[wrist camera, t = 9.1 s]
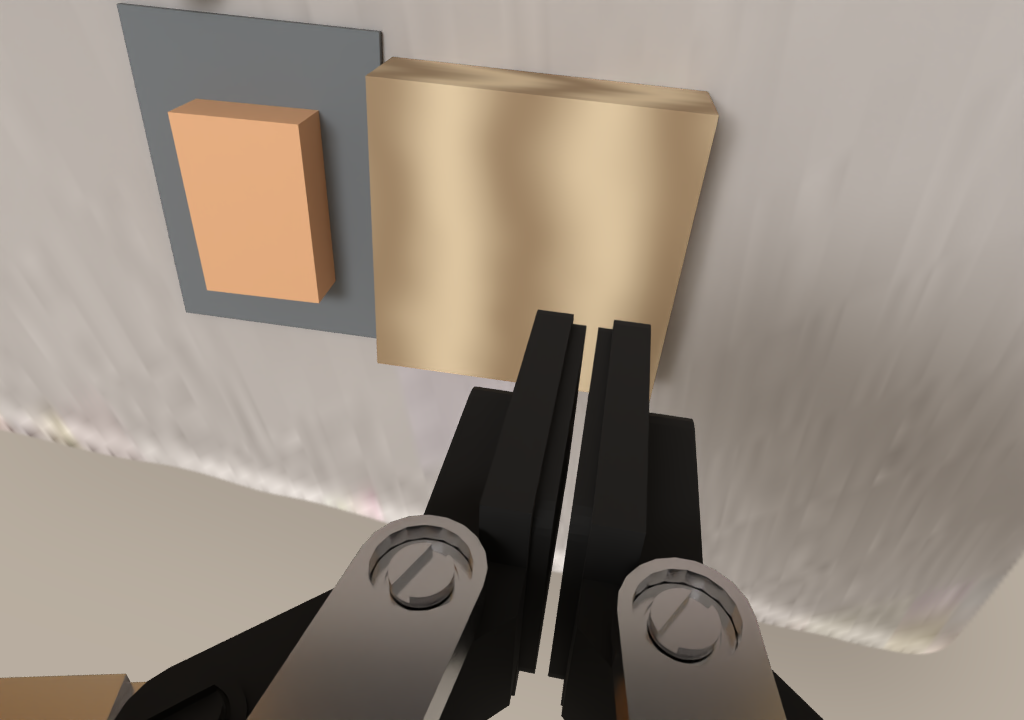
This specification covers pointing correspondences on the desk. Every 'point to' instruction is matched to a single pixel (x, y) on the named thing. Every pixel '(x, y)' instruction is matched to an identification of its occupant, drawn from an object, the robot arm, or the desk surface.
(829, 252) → the desk surface
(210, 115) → the orange rectangular block
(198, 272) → the mat
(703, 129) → the tan flat square block
